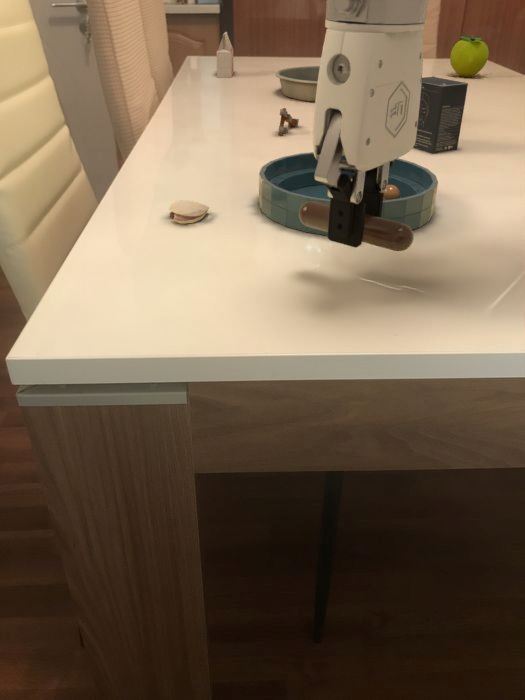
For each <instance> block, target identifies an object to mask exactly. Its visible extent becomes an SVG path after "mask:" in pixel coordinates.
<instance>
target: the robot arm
mask: <svg viewBox="0 0 525 700" xmlns="http://www.w3.org/2000/svg"><path fill="white" fill-rule="evenodd" d="M325 3H326V5H325V7H326V8H325V20H324V28H326V30H325V36H324V40H323V45H322V52H321V56H320V62H319V66H320V69H319V75H318V83H317V91H316V100H315V102H314V110H313V111H314V112H313V123H312V124H313V126H312V152H314V156H315V158H316V159H317V160H318V164H317V167H316V171H315V175H314V177H315V180H316V181H319V182H321V183H323V184H325V185H326V186H327V188H328V197H329V198H331V199H330V212H329V225H328V235H327V238H328V240H329V241H331V242H334V243H337V244H341V245H344V246H348V247H351V248H355V249H356V248H358V247H360V246H361V245H362V243H363V242H362V236H363V227H364V218H365V214H368V215H372V216H376V217H380V218H381V214H382V206H383V197H384V193H380V192H384V191H385V190H386V188H387V184H388V175H389V169H390V167H391V166H392V164H393V161H394V159H397V158H399V159H400V158H401V157H403V156H405V155H406V154H408V153H409V152H411V150H413V149H414V148H413V147H414V145H415V141H416V134H417V126H418V116H419V107H420V96H421V84H422V78H423V69H424V68H423V67H424V31H425V28H426V27H425V26H426V19H427V13H428V5H429V0H326V2H325ZM342 156H345V157H346V160H347V161H346V160H342ZM342 171H346V172H351V173H353V176H352V181H351V179H350V177H349V176H348V175H346V174H343V173H342ZM379 191H380V192H379Z"/></svg>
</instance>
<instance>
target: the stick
mask: <svg viewBox="0 0 525 700" xmlns="http://www.w3.org/2000/svg"><path fill="white" fill-rule="evenodd" d="M329 212H330V205H328V204H324V203H320V202H316V201H308V202H306V203H304V204H303V205H302V206H301V207H300V210H299V219H300V221H301V222H302V223H303V224H304V225H305V226H307V227H311V228H314V229H318V230H322V231H325V232H328V225H329ZM414 238H415V237H414V231H413V230H411V228H410V227H409V226H408V225H406V224H404V223H400V222H396V221H392V220H388V219H384V218H380V217H376V216H372V215H368V214H365V218H364V227H363V236H362V243H365V244H367V245H368V244H369V245H373V246H376V247H379V248H382V249H383V248H384V249H387V250H390V251H394V252H404V251H406V250H408V249H409V248H410V247H411V246H412V244H413V242H414Z"/></svg>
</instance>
